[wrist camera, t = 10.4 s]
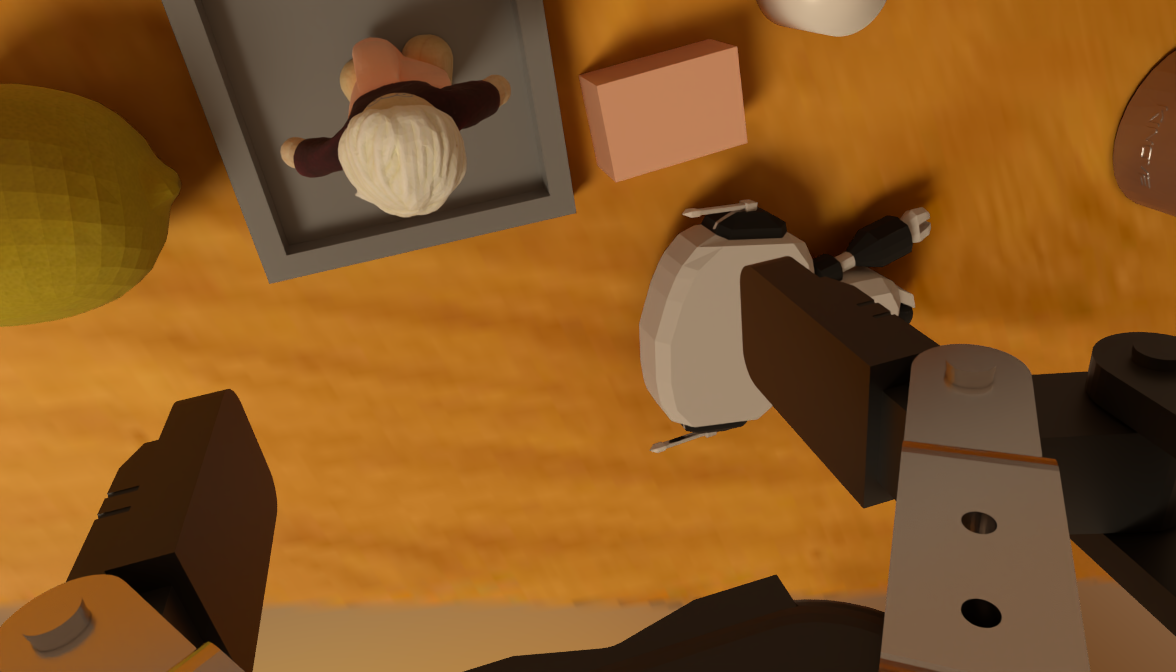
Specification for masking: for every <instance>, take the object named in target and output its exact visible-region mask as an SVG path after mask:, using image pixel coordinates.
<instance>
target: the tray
mask: <svg viewBox="0 0 1176 672" xmlns="http://www.w3.org/2000/svg"><path fill="white" fill-rule="evenodd" d="M162 3H163V6H164V8H165V11H166V13H167V16H168V19H169V21H170V24H171V27H172V29H173V32H174V34H175V37H176V40H177V42H178V45H179V47H180V50H181V53H182V55H183V58H184V61H185V63H186V66H187V68H188V71H189V74H190V76H191V79H192V82H193V84H194V87H195V89H196V92H197V95H198V97H199V100H200V103H201V105H202V108H203V110H204V113H205V116H206V118H207V121H208V124H209V126H210V129H211V131H212V134H213V137H214V139H215V142H216V145H217V147H218V150H219V152H220V155H221V158H222V160H223V163H224V166H225V168H226V171H227V173H228V176H229V179H230V181H231V184H232V187H233V189H234V192H235V194H236V197H237V200H238V202H239V205H240V208H241V210H242V213H243V215H244V218H245V221H246V223H247V226H248V228H249V231H250V234H251V236H252V239H253V242H254V244H255V247H256V249H257V252H258V255H259V257H260V260H261V263H262V265H263V268H264V270H265V273H266V276H267V278H268V281H269V284H271V283H275V282H280V281H284V280H288V279H293V278H297V277H301V276H306V275H310V274H314V273H319V272H323V271H327V270H331V269H336V268H340V267H344V266H349V265H353V264H357V263H362V262H366V261H370V260H375V259H379V258H383V257H388V256H392V255H396V254H401V253H405V252H409V251H414V250H418V249H422V248H427V247H431V246H435V245H440V244H444V243H448V242H453V241H457V240H461V239H465V238H470V237H474V236H478V235H483V234H487V233H491V232H496V231H500V230H504V229H509V228H513V227H517V226H522V225H526V224H530V223H535V222H539V221H543V220H548V219H552V218H556V217H561V216H565V215H569V214H574V213H576V208H575V202H574V195H573V189H572V183H571V176H570V170H569V164H568V157H567V151H566V145H565V139H564V132H563V126H562V120H561V113H560V107H559V101H558V94H557V88H556V82H555V75H554V69H553V63H552V57H551V50H550V44H549V38H548V31H547V25H546V19H545V12H544V6H543V0H162ZM427 34H431V35H435V36H438V37H440V38H442V39H443V40H444V41H445V42H447V44H448V45H449V47H450V48H451V51H452V54H453V74H452V85H454V84H457V83H463V82H468V81H479V80H483V79H485V78H487V77H488V76H490V75H500V76H503V77H504V78H505V79H506V80H507V81H508V82H509V84H510V87H511V95H510V98H509V100H508V101H507V102H506V103H505V104H503V105H501V106H500V107H499V108H498V110H497V112H496V113H495V114H493V115H491V116H490V117H488V118H486V119H484V120H482V121H481V122H479V123H478V124H476V125H475V126H472V127H469V128H466V129H461V130H460V131H459V132H460V134H461V136H462V138H463V141H464V148H465V153H466V159H467V166H466V173H465V175H464V177H463V179H462V181H461V182H460V184H459V185H458V186H457V187H456V188H455V190H453V191H452V193H451V194H450V195H449V196H448V198H447V200H446V201H445V203H444V204H443V205H442V206H441V207H440V208H439V209H438V210H436V211H434V212H431V213H429V214H426V215H415V216H411V217H400V216H397V215H392V214H389V213H386V212H384V211H383V210H381V209H380V208H379V207H377V206H376V205H375V204H373V203H370V202H368V201H366V200H364V199H361V198H360V197H357V196H355V194H356V193H357V189H356V188H355V187H354V186H353V185H352V184H351V182H350V181H349V179H348V178H347V176H346V174H345V172H344V170H342V171H337V172H333V173H330V174H328V175H326V176H322V177H316V178H309V177H305V176H302V175H300V174H299V173H298V172H297V170H296V169H295V168H292V167H290V166H288V165H287V164H286V163H285V162H284V161H283V159H282V157H281V152H280V151H281V146H282V145H283V143H284V142H285V141H286V140H287V139H289V138H291V137H300V138H303V139H308V138H320V137H327V138H332V137H334V135H335V134H336V133H337V132H338V131H339V130H340V129H342V127H343V126H344V125H345V123H346V121H347V120H348V114H349V104H350V102H349V100H348V99H347V97H346V96H345V94H344V93H343V91H342V89H341V86H340V73H341V71H342V69H343V67H344V65H345V64H346V63H347V62H349V61H350V60H352V59H353V56H352V50H353V47H354V45H355V44H356V43H358V42H359V41H361V40H363V39H366V38H370V37H371V38H381V39H385V40H387V41H389V42H390V43H392V44H393V45H394V46H395V47H396V48H397V49H398V50H399V51H400V52H401V53H402V51H403V48H404V46H405V44H406V43H407V42H408V41H409V40H410V39H411V38H413V37H415V36H417V35H427Z"/></svg>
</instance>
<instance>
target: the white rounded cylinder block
mask: <svg viewBox="0 0 1176 672" xmlns="http://www.w3.org/2000/svg"><path fill="white" fill-rule="evenodd" d="M756 1H757V4H758V6H759V8H760V10H761V11H762V13H763V14H764V15H765V16H766V17H767V18H768V19H769V20H770V21H772V22H773V23H775V24H777V25H780V26H784V27H789V28H794V29H800V30H805V31H810V32H815V33H820V34H825V35H830V36H847V35H850V34H853V33H856V32H858V31H860V30H861V29H863V28H864V27H866V26H867V25H868V24H869V23H870V22H871V21H873V20H874V18H875V17H876V16H877V15H878V14H879V12H880V11H881V9H882V8H883V6H884V4H885V2H886V0H756Z"/></svg>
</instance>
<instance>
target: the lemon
mask: <svg viewBox="0 0 1176 672" xmlns="http://www.w3.org/2000/svg"><path fill="white" fill-rule="evenodd" d="M180 189H181V181H180V178H179V176H178V174H177V173H176V172H175V171H174V170H173V169H172V168H170V167H168V166H167V165H165V164H164V163H163V162H162V161H161V160H159V159H158V158H157V157H156V155H155V154H154V152H153V151H152V149H151V148H150V146H149V145H148V143H147V142H146V140H145V138H144V137H143V136H142V135H141V134H139V133H138V132H137V131H136V130H135V129H134V128H133V127H132V126H131V125H130V124H129V123H127V122H126V121H125V120H124V119H123V118H122V117H120V116H119V115H118V114H116V113H115V112H113V111H112V110H110V109H108V108H107V107H105V106H103V105H102V104H100V103H98V102H96V101H93V100H91V99H88V98H85V97H82V96H79V95H76V94H73V93H69V92H64V91H60V90H55V89H51V88H45V87H38V86H31V85H23V84H0V327H4V326H18V325H27V324H36V323H42V322H48V321H55V320H59V319H63V318H67V317H72V316H75V315H78V314H81V313H84V312H87V311H90V310H92V309H95V308H98V307H100V306H103V305H105V304H107V303H109V302H111V301H114V300H116V299H118V298H120V297H121V296H122V295H124V294H125V293H126V292H128V291H129V290H130V289H131V288H133V287H134V286H135V285H137V284H138V283H139V282H140V281H141V280H142V279H143V278H144V277H145V276H146V275H147V274H148V273H149V272H150V271H151V270H152V268H153V266H154V264H155V262H156V260H157V257H158V256H159V254H160V252H161V250H162V248H163V246H164V244H165V242H166V239H167V235H168V226H169V216H170V208H171V205H172V203H173V201H174V200H175V198H176V197H177V196H178V194H179V193H180Z"/></svg>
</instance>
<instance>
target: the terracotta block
mask: <svg viewBox="0 0 1176 672" xmlns="http://www.w3.org/2000/svg"><path fill="white" fill-rule="evenodd" d="M579 80H580V85H581V89H582V94H583V99H584V104H585V108H586V113H587V118H588V123H589V127H590V132H591V137H592V142H593V146H594V151H595V156H596V161H597V165H598V166H599V167H600V168H601V169H602V170H603V171H604V172H605V173H606V174H607V175H608V176H609V177H611V178H612V179H613V180H614V181H615V182H619V181H622V180H625V179H629V178H632V177H635V176H639V175H642V174H645V173H649V172H652V171H655V170H659V169H662V168H665V167H669V166H672V165H675V164H679V163H682V162H685V161H689V160H692V159H695V158H699V157H702V156H705V155H709V154H712V153H715V152H719V151H722V150H725V149H729V148H732V147H735V146H739V145H742V144H745V143H747V134H746V124H745V115H744V106H743V96H742V87H741V77H740V68H739V59H738V49H737V46H734V45H730V44H727V43H723V42H719V41H716V40H712V39H707V40H703V41H700V42H696V43H693V44H689V45H685V46H682V47H678V48H675V49H671V50H667V51H664V52H660V53H657V54H653V55H649V56H646V57H642V58H639V59H635V60H631V61H628V62H624V63H621V64H617V65H613V66H610V67H606V68H603V69H599V70H595V71H592V72H588V73H585V74H581V75H579Z"/></svg>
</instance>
